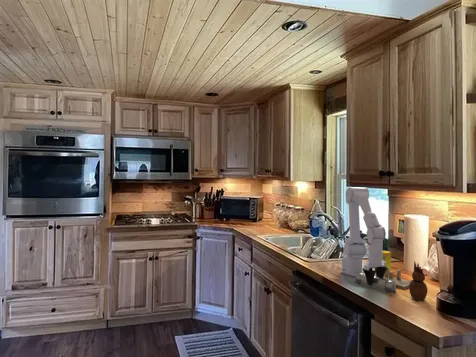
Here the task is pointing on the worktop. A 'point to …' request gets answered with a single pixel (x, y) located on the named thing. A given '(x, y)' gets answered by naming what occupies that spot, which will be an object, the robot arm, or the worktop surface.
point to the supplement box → (387, 258)
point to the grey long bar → (376, 282)
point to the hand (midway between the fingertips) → (374, 283)
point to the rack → (397, 279)
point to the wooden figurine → (418, 284)
